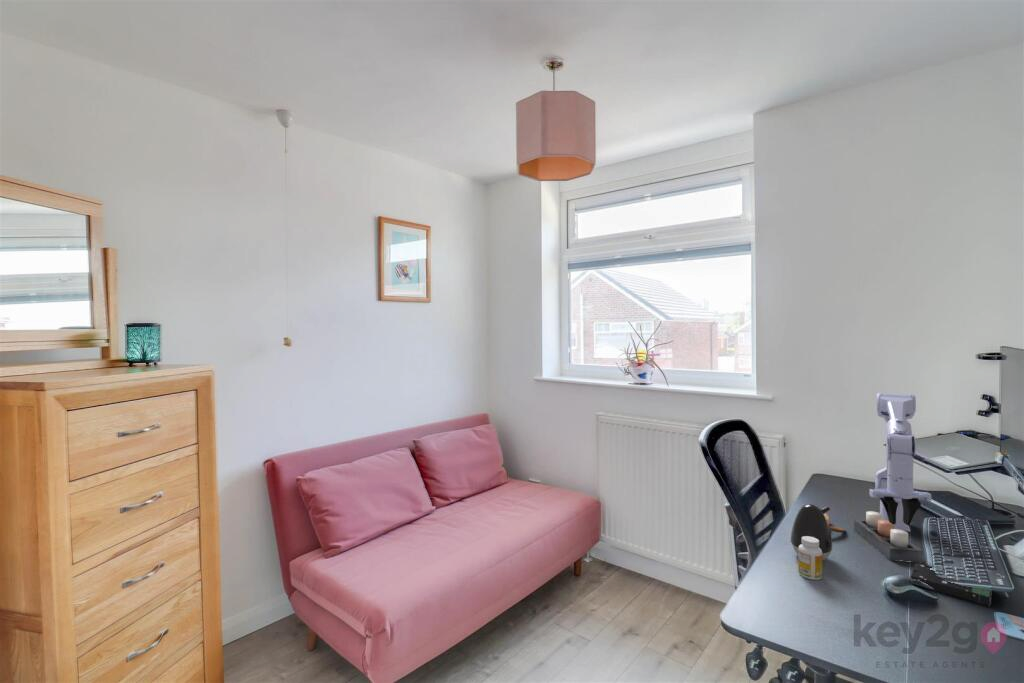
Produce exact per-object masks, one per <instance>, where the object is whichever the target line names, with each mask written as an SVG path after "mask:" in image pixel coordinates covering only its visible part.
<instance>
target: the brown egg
mask: <svg viewBox="0 0 1024 683" xmlns="http://www.w3.org/2000/svg"><path fill="white" fill-rule="evenodd" d="M891 529H895V524H891V523H890V522H889V521H887V520H878V535H879V536H881V537H890V530H891Z"/></svg>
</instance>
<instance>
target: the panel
mask: <svg viewBox="0 0 1024 683" xmlns="http://www.w3.org/2000/svg"><path fill="white" fill-rule="evenodd" d="M853 522H854V523H853V530H854V531H855V532H856V533H857V535H858V536H860V535H861V538H863V539H864V540H865V541H866V542H867V541H868V544H870V546H872V545H873V546H874V547H873V546H872V547H873V548H875V549H876V550H877V549H878V550H879V551H880V552H881V553H880V552H879V551H878V550H877V551H878V552H879V553H880V554H881V555H883V554H884V555H885V556H886V557H887V558H888V559H887V558H886V557H885V556H884V555H883V556H884V557H885V558H886V559H887V560H889V561H890V560H903V561H911V562H910V563H914V562H921V564H924V563H923V562H924V561H923V559H924V550H923V549H921V548H920V547H918V546H917V545H915V544H914V543H913V542H912V541H910V540H909V539H908V548H899V547H894V546H892V545H891V544H890V537H881V536H879V535H878V528H872V527H868V526H867V525H866V519H854V520H853Z"/></svg>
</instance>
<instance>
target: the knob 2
mask: <svg viewBox="0 0 1024 683" xmlns="http://www.w3.org/2000/svg"><path fill="white" fill-rule="evenodd" d="M908 540H909V532H908V531H903V530H899V529H891V530H890V544H891V545H892V546H894V547H899V548H908Z"/></svg>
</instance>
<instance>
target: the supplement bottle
mask: <svg viewBox="0 0 1024 683" xmlns="http://www.w3.org/2000/svg"><path fill="white" fill-rule="evenodd" d="M801 542H802V544H801V545H799V548H798V554H797V555H798V556H797V558H798V565H797V569H798V574H799V575H800V576H801V577H803V578H805V579H808V580H812V581H814V580H815V581H818V580H821V579H822V578H823V561H822V550H821V549H820V548H819V540H818V539H816V538H814V537H810V536H803V537H802V541H801Z"/></svg>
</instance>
